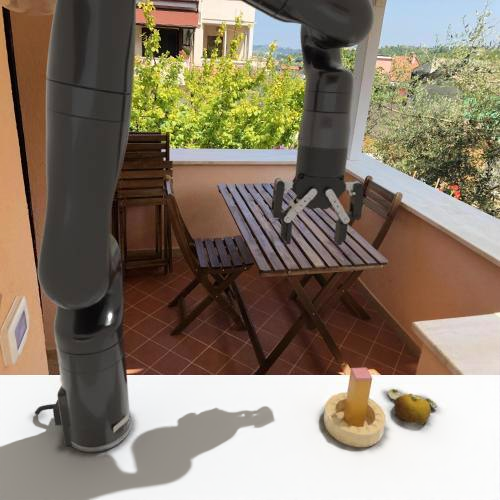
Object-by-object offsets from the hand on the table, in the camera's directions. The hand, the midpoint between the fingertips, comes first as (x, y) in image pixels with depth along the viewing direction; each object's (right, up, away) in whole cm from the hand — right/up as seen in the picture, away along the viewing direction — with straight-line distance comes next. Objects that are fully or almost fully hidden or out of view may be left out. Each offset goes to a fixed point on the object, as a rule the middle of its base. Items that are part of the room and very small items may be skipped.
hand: (312, 243), depth 70 cm
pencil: (+7, -30, +1) cm, 31 cm away
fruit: (+18, -29, +5) cm, 35 cm away
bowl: (+7, -30, +1) cm, 31 cm away
